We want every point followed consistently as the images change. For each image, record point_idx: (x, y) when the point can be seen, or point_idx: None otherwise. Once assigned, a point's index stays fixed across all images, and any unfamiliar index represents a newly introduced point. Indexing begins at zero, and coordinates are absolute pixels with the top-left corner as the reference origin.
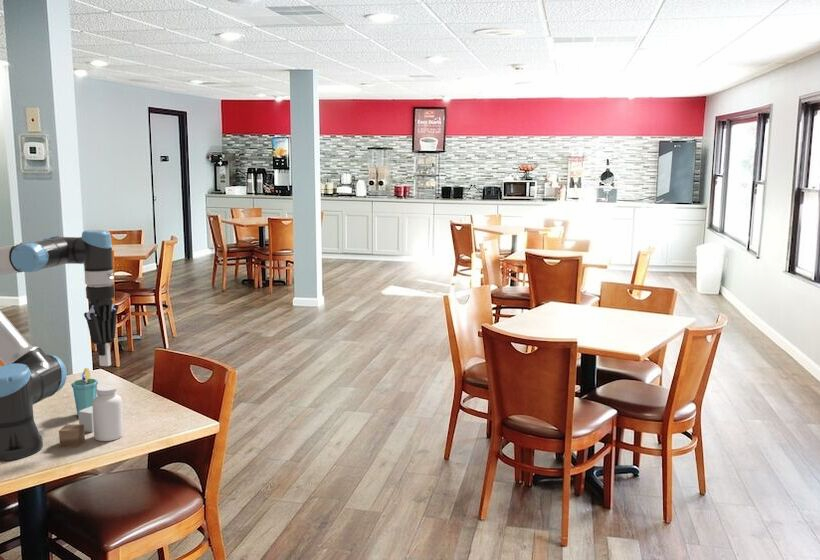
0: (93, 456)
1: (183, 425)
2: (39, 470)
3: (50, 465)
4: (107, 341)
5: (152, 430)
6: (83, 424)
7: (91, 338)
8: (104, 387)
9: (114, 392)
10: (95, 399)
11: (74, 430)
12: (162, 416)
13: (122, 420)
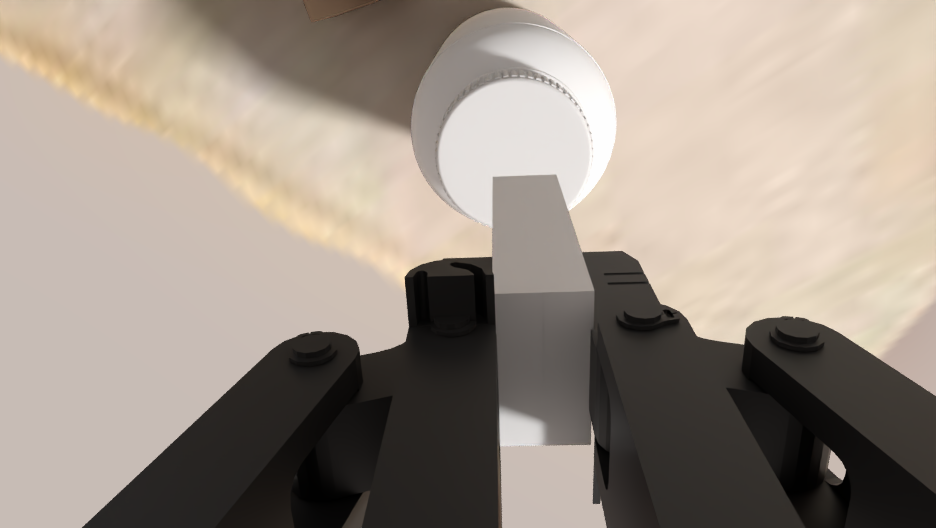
0: (265, 176)
1: None
2: (32, 36)
3: (98, 46)
4: (596, 423)
5: (640, 249)
6: None
7: (222, 405)
8: (519, 134)
9: None
10: (443, 84)
11: (306, 5)
12: (858, 183)
13: None
